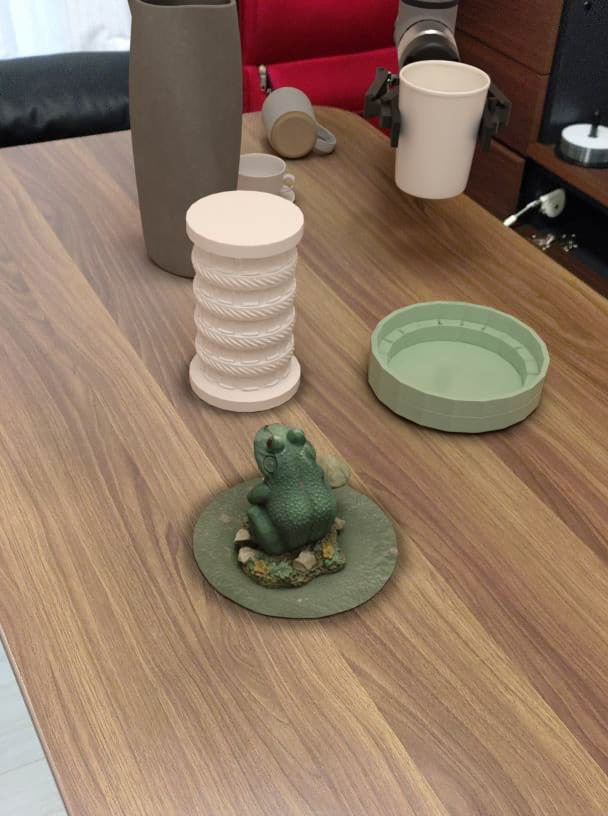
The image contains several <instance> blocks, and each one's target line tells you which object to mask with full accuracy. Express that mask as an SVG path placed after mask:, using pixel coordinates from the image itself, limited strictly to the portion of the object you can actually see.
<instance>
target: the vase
mask: <svg viewBox="0 0 608 816" xmlns="http://www.w3.org/2000/svg"><path fill="white" fill-rule="evenodd" d="M127 3H128V8H129V13H130V16H131V18H130V19H131V21H130V36H129V37H130V38H129V58H128V60H129V62H128V100H129V101H128V105H129V106H128V107H129V122H130V123H129V124H130V136H131V137H130V138H131V145H132V149H131V150H132V156H133V158H132V159H133V166H134V175H135V182H136V191H137V198H138V205H139V214H140V221H141V222H140V223H141V229H142V235H143V243H144V245H145V250H146V252H147V253H148V255H149V257H150V258H151V260H152V261H153V263H155V264H156V265H157V266H158V267H159V268H162V269H163V270H165V271H167V272H169V273H171V274H174V275H177V276H181V277H185V278H191V279H194V277H195V275H196V272H195V269H194V267H193V263H192V260H191V254H192V250H193V246H194V243H193V242H192V241H191V240H190V238H189V236H188V234H187V231H186V215H187V211H188V210H189V208H190V207H191V205H192V204H194V203H195V202H197V201H198V200H200V199H202V198H204V197H207V196H209V195H212V194H217V193H221V192H227V191H237V183H238V173H239V163H240V156H241V150H242V149H241V148H242V135H243V132H242V131H243V111H244V110H243V107H244V106H243V104H244V98H243V97H244V95H243V94H244V92H243V91H244V90H243V84H244V83H243V61H242V46H241V34H240V25H239V17H238V9H237V7H238V6H237V1H236V0H127Z"/></svg>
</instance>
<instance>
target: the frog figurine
mask: <svg viewBox="0 0 608 816" xmlns="http://www.w3.org/2000/svg"><path fill="white" fill-rule="evenodd" d="M305 435H306V434H305V432H304V431H303V430H302V429H301V428H297V427H292V426H289V425H288V426H287V425H285V424H284V425H283V424H281V423H279V422H273V423H271V424H264V425H263V426H261V428H259V429H258V430H257V432H256V434H255V436H254V439H253V457H254V460H255V462H256V465H257V468H258V470H259V472H260V473H261V474H262V476H261V477H256V478H251V479H248V480H246V481H244V482H243V481H242V482H241V483H239V484H236V485H234V486H233V487H230V488H228V489H227V490H225V491H223V492H221V493H220V494H219V495H217V496H216V497H215V498H214V499H213V500H212V501H211V502H210V503H209V504H208V505H207V506H206V507H205V508H204V510H203V511H202V512H201V514H200V516H199V518H198V520H197V522H196V524H195V527H194V530H193V534H192V551H193V556H194V559H195V561H196V564H197V566H198V568H199V570H200V571H201V573H202V574H203V576H204V578H206V580H207V582H208V583H209V584H210V585H211V586H212V587H213V588H215V590H217V592H219V593H220V594H221V595H223V596H224V597H226V598H228V599H229V600H231V601H233V602H235V603H236V604H238V605H241V606H243V607H245V608H246V609H249V610H251V611H253V612H254V613H258V614H262V615H266V616H270V617H271V616H273V617H280V618H281V617H282V618H291V619H293V618H294V619H314V618H315V619H316V618H322V617H327V616H332V615H335V614H338V613H339V614H340V613H342V612H346V611H349V610H351V609H354V608H356V607H357V606H360V605H362V604H364V603H365V602H367V601H369V600H370V599H372V598H373V597H374V596H375V595H376V594H378V593H379V592H380V591H381V590H382V588H383V587H384V586H385V584H386V583H387V582H388V580H389V579H390V577H391V576H392V575H393V572H394V571H395V567H396V564H397V561H398V558H399V548H398V542H397V535H396V532H395V529H394V526H393V524H392V521H390V518H388V516H387V515H386V514H385V512H384V511H383V510H382V509H381V507H379V506H378V504H376V503H375V501H373V500H372V499H370V497H367V496H366V495H365V494H364V493H362V492H360V491H358V490H356V489H355V488H352V487H351V486H349V485H347V483H348V482H349V481H350V478H351V476H352V470H351V466H349V465H350V464H348V463H347V462H346V461H345V460H344V459H342V458H341V457H340V456H338V455H335V454H332V453H322V454H318V455H317V451H316V448H315V446H314V444H313V443H311V441H309V439H308V438H307V437H306V436H305Z"/></svg>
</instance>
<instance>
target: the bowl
mask: <svg viewBox="0 0 608 816" xmlns="http://www.w3.org/2000/svg"><path fill="white" fill-rule="evenodd" d="M550 363H551V359H550V355H549V352H548V348H547V344H546V343H545V342H544V340H543V339H542V337H540V336H539V334H538V333H537V332H536V331H535V329H533V328H532V327H530V326H529V325H527V324H526V323H524V322H523V321H522V320H520V319H518V318H517V317H515V316H513V315H511V314H508V313H505V312H503V311H501V310H498V309H496V308H495V307H494V308H493V307H491V306H487V305H481V304H477V303H472V302H467V301H454V300H434V301H426V302H418V303H413V304H410V305H406V306H404V307H401V308H398V309H395V310H393V311H391V313H389V314H388V315H386V316H385V317H384V318H382V319H381V320H379V322H378V323H377V324H376V325H375V328H374V329H373V331H372V334H371V335H370V343H369V353H368V361H367V378H368V381H367V382H368V384H369V386H370V387H371V390H372V391H373V393H374V394H375V396H376V397H377V399H378V400H379V401H380V402H382V404H384V405H385V406H386V407H388V409H390V410H391V411H392V412H393V413H395V414H396V415H398V416H401V417H403V418H405V419H407V420H409V421H411V422H413V423H416V424H418V425H420V426H423V427H427V428H431V429H436V430H440V431H444V432H449V433H451V432H452V433H473V434H476V433H477V434H478V433H484V432H485V433H486V432H492V431H498V430H502V429H503V430H504V429H506V428H508V427H510V426H512V425H515V424H517V423H519V422H522V421H524V420H525V419H526V418H527V417H528V416H529V415H530V414H531V413H532V412H534V410H535V409H537V407H538V406H539V403H540V400H541V396H542V392H543V389H544V385H545V383H546V378H547V375H548V370H549V368H550Z"/></svg>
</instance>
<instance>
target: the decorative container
mask: <svg viewBox="0 0 608 816" xmlns="http://www.w3.org/2000/svg"><path fill="white" fill-rule="evenodd" d="M304 217H305V216H304V214H303V212H302V210H301V208H300V207H298V206H297V205H296V204H295V203H294V202H291V201H289V200H286V199H284V198H282V197H280V196H276V195H273V194H269V193H264V192H257V191H240V190H238V191H227V192H221V193H217V194H212V195H209V196H207V197H204V198H202V199H200V200H198V201H197V202H195V203H194V204H192V205H191V207H190V208H189V210H188V211H187V215H186V231H187V234H188V236H189V238H190V240H191V241H192V242H193V243H194V246H193V250H192V254H191V260H192V263H193V267H194V269H195V272H196V275H195V277H194V278H193V281H192V293H193V296H194V299H195V302H196V305H195V308H194V311H193V321H194V323H195V328H196V330H197V332H196V336H195V339H194V347H195V352H196V354H194V356H193V358H192V359H191V361H190V363H189V369H188V370H189V371H188V373H189V384H190V387H191V389H192V391H193V392H194V393H195V395H196V396H197V397H198V398H199V399H201V400H202V401H203V402H205V403H207V404H208V405H210V406H212V407H213V406H214V407H215V408H218V409H220V410H225V411H230V412H235V413H254V412H259V411H260V412H261V411H267V410H270V409H273V408H276V407H279V406H282V405H283V404H284V403H286V402H288V401H289V400H291V399H292V398H293V396H294V395H295V394H297V392H298V390H299V387H300V385H301V365H300V362H299V360H298V359H297V357H296V356H295V355H294V351H295V346H296V343H295V338H294V337H295V336H294V333H293V331H294V330H295V329H294V328H295V327H296V326H295V323H297V322H296V319H297V316H296V314H297V313H296V308H295V306H294V303H295V300H296V298H297V294H298V293H297V291H298V287H297V285H298V283H297V278H296V277H295V276H296V275H295V273H296V271H297V269H298V265H299V262H298V261H299V259H300V258H299V257H298V255H299V253H298V248H297V245H298V244H299V243H300V242H301V241H302V238H303V236H304V229H305V227H304V226H305V219H304Z"/></svg>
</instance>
